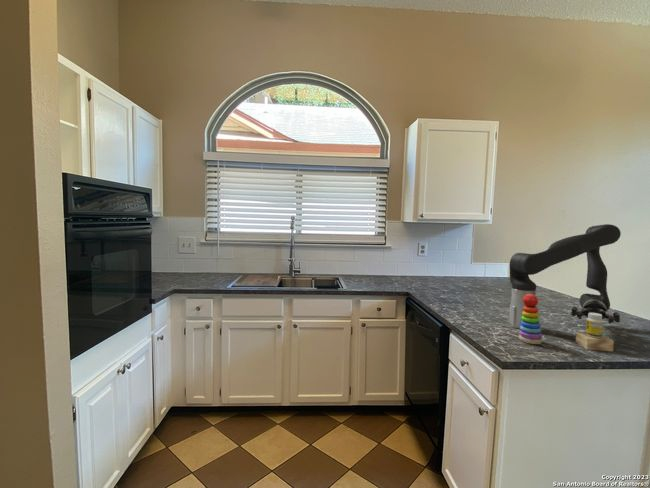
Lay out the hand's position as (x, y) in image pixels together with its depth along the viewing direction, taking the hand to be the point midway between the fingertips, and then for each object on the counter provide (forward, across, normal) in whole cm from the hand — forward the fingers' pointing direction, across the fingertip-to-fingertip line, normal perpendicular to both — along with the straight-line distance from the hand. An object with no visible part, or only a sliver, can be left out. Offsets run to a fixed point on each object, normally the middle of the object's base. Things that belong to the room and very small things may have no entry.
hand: (594, 318), depth 118 cm
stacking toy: (+9, -19, +11) cm, 24 cm away
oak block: (0, 0, +11) cm, 11 cm away
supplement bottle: (0, 0, +7) cm, 7 cm away
